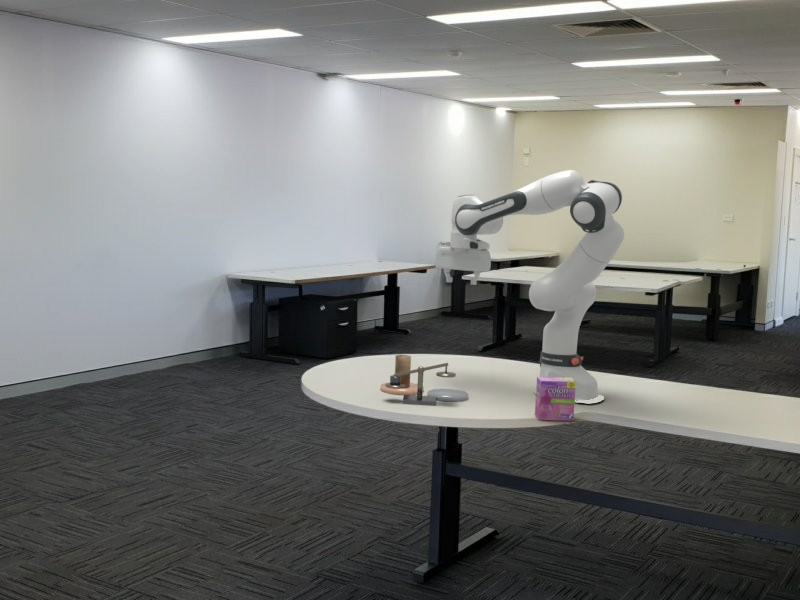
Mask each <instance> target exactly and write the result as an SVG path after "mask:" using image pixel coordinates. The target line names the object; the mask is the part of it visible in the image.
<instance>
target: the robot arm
mask: <svg viewBox="0 0 800 600" xmlns="http://www.w3.org/2000/svg"><path fill="white" fill-rule="evenodd" d="M621 191H622V190H621V189H620V188H619V187H618V186H617V185H616V184H615V183H612V182H609V181H600V180H593V179H590V181H589V180H588V182H586V181H585V180H584V178H583V176H582V174H581V173H580V172H579V171H577V170H573V169H568V170H562V171H559V172H555V173H552V174H550V175H546V176H544V177H541V178H539V179H537V180H535V181H533V182H531V183H528V184H526V185H525V186H522V187H521V188H518V189H516V190H514V191H512V192H509V193H507V194H505V195H502V196H499V197H497V198H493V199H491V200H488V201H486V202H483V201H482V200H480V199H479V197H477V195H475V194H463V195H459V196H457V197H455V199H454V200H453V204H452V210H451V221H450V222H451V226H452V227H451V232H450V240H449V241H440V242H438V243H437V245H436V253H435V259H434V266H435V268H436V269H443V273H444V277H445V279H446V281H445V282H446V283H453V280H454V279H453V276H451V274H450V273H451V270H457V271H465V272H466V271H467V272H473V275H474V276H473V278H471V279H470V285H471V286H472V285H473V286H474V285H475V286H476V285H477V281H478V279H479V277H480V275H481V273H488V272H489V271H490V270H491V265H492V259H491V253H490V251H489V249H490V247H491V246H490V243H488V242H487V241H484V240H482V239H479V238H478V237H477V236H478V235H480V236H483V235H487V236H488V235H494V234H497V233H498V232H499V231H500V230H501V229H502V227H503V224H504V217H507V216H515V215H527V216H528V215H529V216H530V215H531V216H535V215H536V216H537V215H538V216H539V215H544V214H551V213H553V212H556V211H558V210H560V209H563V208H566V207H570V208H569V213H570V216H571V218H572V220H573V222H575V224H577V225H578V226H579V228H580V229H581V230H582V231H583V232H585V234H584V236H583V237H582V238H581V240H580V241H579V242H578V244H577V245H576V246H575V248H574V249H573V250H572V252H571V253H570V254H569V255H568V256H567V257H566V258H565V259H564V260H563V261H562V262H561V263H560V264H559V265H558V266H556V267H555V268H554V269H553V270H551V271H550V272H548V273H547V274H546V275H544V276H542V277H541V278H538V279H537V280H534V281H533V282H532V283H531V285H530V287H529V290H528V299H529V301H530V303H531V305H532V306H533V307H534V308H535V309H537V310H540V311H541V310H542V311H546V312H554V314H553V316H552V318H551V319H550V320H549V322H547V323H546V324H545V326H544V327H543V330H542V331H543V334H542V350H541V351H540V356H539V357H540V358H539V368H540V369H539V376H538V377H564V378H573V379H574V380H575V381H576V390H575V400H576V401H578V400H590V399H594V398H596V397H598V394H599V386H598V385H599V384H598V381H597V379H596V378H595V377H594V376H592V374H590V372H588V371H587V370H586V369H585V368H584V367H583V366H582V363H583V362H582V361H583V360H584V356H580V355H579V354H578V353H577V351H578V350H577V349H578V341H579V340H578V339H579V338H578V337H579V332H580V326H581V325H582V324H581V323H582V322H583V318H584V316H585V314H586V313H587V311H588V309H589V308H590V307H591V306H592V305H593V304H594V302H595V301H596V298H597V288H596V285H595V283H594V282H595V280H596V279H598V278H599V276H600V274H601V273H603V271H604V270H605V268H606V267H607V266H608V265H609V263H610V262H611V261H612V259H613V258H615V257H614V256H615V255H616V254H617V252H618V250H619V248H620V247H621V245H622V243H623V241H624V238H625V232H624V229H623V227H622V226H621V224H619V223H618V221H616V220H615V219H614V216H613V214H615V213H616V212H617V211H619V209H620V206H621V204H622V202H623V195H622V192H621ZM534 394H535V395H536V389H535V391H534Z"/></svg>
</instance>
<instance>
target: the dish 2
mask: <svg viewBox="0 0 800 600" xmlns="http://www.w3.org/2000/svg"><path fill="white" fill-rule="evenodd" d="M426 396H436V402H438V401H439V402H444V403H445V402H447V403H457V402H464V401H468V399H469V393H468V392H466V391H463V390H461V389H460V390H459V389H455V388H454V389H451V388H435V389H430V390H428V391H427V395H426Z"/></svg>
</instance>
